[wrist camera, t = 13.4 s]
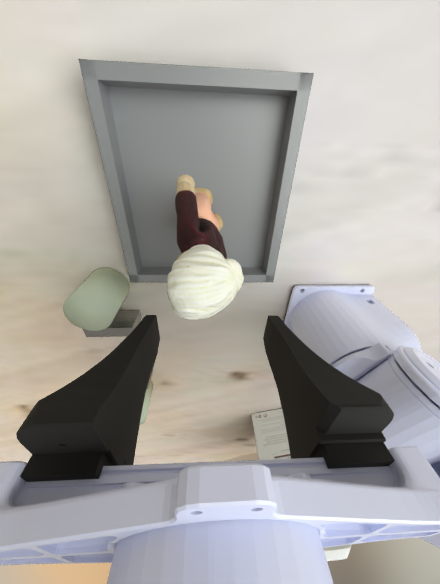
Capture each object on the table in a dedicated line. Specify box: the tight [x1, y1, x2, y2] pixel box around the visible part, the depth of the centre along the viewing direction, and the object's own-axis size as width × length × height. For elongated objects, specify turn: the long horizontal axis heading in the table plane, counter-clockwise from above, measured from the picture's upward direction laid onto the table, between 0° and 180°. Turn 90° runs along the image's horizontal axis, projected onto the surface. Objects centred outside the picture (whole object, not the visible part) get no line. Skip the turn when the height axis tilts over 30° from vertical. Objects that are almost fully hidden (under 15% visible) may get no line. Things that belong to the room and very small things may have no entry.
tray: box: [79, 59, 314, 282], centre depth 17 cm, size 14×15×2 cm
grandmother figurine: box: [167, 174, 244, 320], centre depth 13 cm, size 8×4×13 cm, turn 31°
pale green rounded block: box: [63, 268, 130, 331], centre depth 21 cm, size 4×4×5 cm
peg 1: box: [140, 380, 153, 424], centre depth 31 cm, size 4×4×5 cm
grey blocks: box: [83, 310, 153, 389], centre depth 26 cm, size 5×11×3 cm, turn 178°
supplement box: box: [251, 408, 351, 561], centre depth 34 cm, size 10×9×17 cm
